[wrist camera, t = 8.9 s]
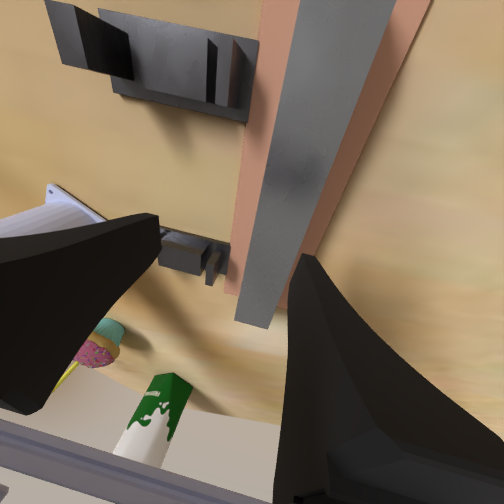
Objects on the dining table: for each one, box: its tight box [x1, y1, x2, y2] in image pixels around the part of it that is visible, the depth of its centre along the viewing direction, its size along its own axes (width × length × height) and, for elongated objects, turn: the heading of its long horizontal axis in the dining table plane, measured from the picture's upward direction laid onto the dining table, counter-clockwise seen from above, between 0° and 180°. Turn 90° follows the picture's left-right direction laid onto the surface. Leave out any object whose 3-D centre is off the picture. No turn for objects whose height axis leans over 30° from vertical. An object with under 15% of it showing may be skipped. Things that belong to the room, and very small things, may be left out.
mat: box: [224, 0, 431, 309], centre depth 18 cm, size 27×9×1 cm, turn 170°
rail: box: [234, 0, 397, 329], centre depth 16 cm, size 26×4×4 cm, turn 170°
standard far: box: [157, 225, 231, 286], centre depth 21 cm, size 4×11×5 cm, turn 80°
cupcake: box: [52, 318, 125, 392], centre depth 33 cm, size 9×8×12 cm
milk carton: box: [112, 373, 193, 469], centre depth 39 cm, size 9×9×20 cm
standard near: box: [44, 0, 259, 123], centre depth 12 cm, size 4×11×5 cm, turn 80°
